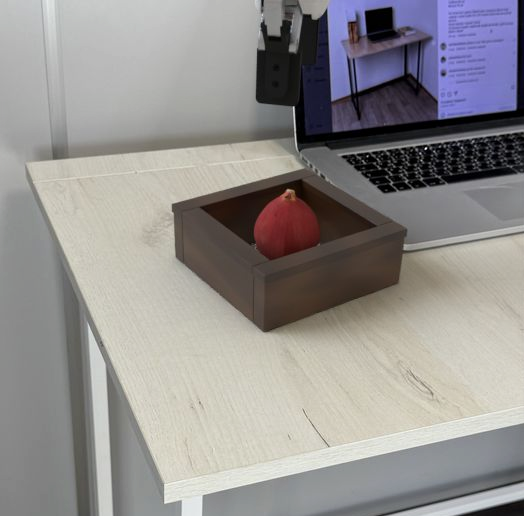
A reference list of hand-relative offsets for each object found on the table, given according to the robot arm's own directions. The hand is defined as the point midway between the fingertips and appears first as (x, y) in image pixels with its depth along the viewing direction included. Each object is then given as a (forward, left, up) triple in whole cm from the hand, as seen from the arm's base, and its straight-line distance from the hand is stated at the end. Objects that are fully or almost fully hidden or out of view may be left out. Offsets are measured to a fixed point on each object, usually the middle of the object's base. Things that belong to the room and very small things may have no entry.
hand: (287, 82), depth 70 cm
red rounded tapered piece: (-1, 0, -17) cm, 17 cm away
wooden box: (-1, 0, -17) cm, 17 cm away
